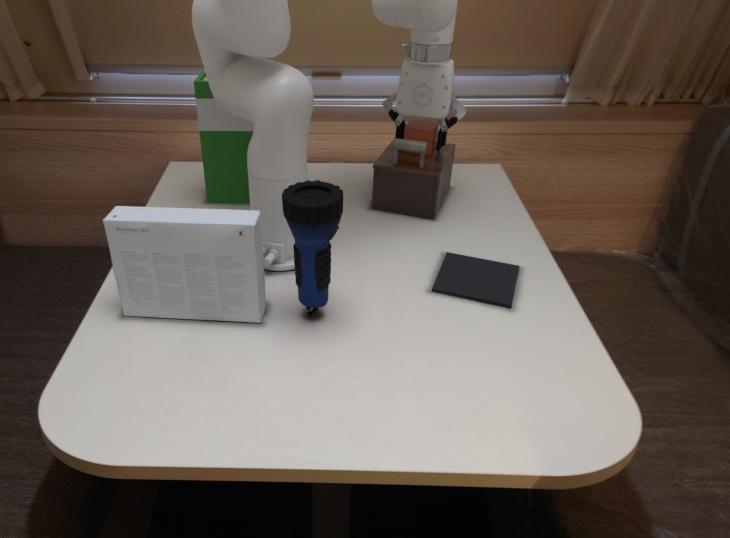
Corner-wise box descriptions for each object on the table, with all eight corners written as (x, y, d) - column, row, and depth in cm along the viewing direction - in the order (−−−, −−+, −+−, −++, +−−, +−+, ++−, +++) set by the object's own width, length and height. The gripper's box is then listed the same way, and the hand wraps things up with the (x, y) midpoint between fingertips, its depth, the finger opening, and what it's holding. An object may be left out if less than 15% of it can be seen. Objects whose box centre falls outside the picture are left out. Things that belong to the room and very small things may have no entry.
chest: (434, 219, 110) (439, 176, 105) (371, 208, 114) (373, 167, 110) (449, 188, 122) (455, 148, 117) (391, 179, 126) (395, 140, 121)
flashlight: (285, 333, 82) (281, 206, 71) (285, 301, 89) (282, 180, 77) (341, 332, 82) (346, 205, 71) (337, 300, 89) (341, 179, 77)
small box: (430, 155, 112) (433, 130, 109) (402, 151, 114) (404, 126, 111) (435, 146, 116) (439, 121, 113) (409, 142, 118) (411, 118, 115)
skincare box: (267, 302, 88) (262, 209, 79) (261, 324, 84) (255, 227, 75) (134, 295, 90) (114, 203, 81) (121, 316, 86) (99, 221, 77)
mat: (510, 308, 87) (511, 305, 86) (431, 291, 91) (432, 288, 90) (518, 268, 96) (519, 265, 95) (446, 254, 100) (446, 251, 99)
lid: (439, 178, 105) (443, 148, 102) (372, 168, 109) (374, 139, 106) (455, 147, 117) (459, 120, 114) (395, 140, 121) (397, 113, 118)
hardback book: (295, 188, 123) (293, 71, 109) (293, 204, 116) (291, 82, 103) (213, 187, 123) (201, 71, 110) (207, 202, 117) (193, 81, 104)
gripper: (377, 52, 105) (372, 147, 115) (475, 60, 99) (460, 159, 109) (389, 44, 110) (382, 134, 120) (481, 51, 105) (467, 145, 115)
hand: (419, 145), depth 115 cm, fingers open, 7 cm apart
